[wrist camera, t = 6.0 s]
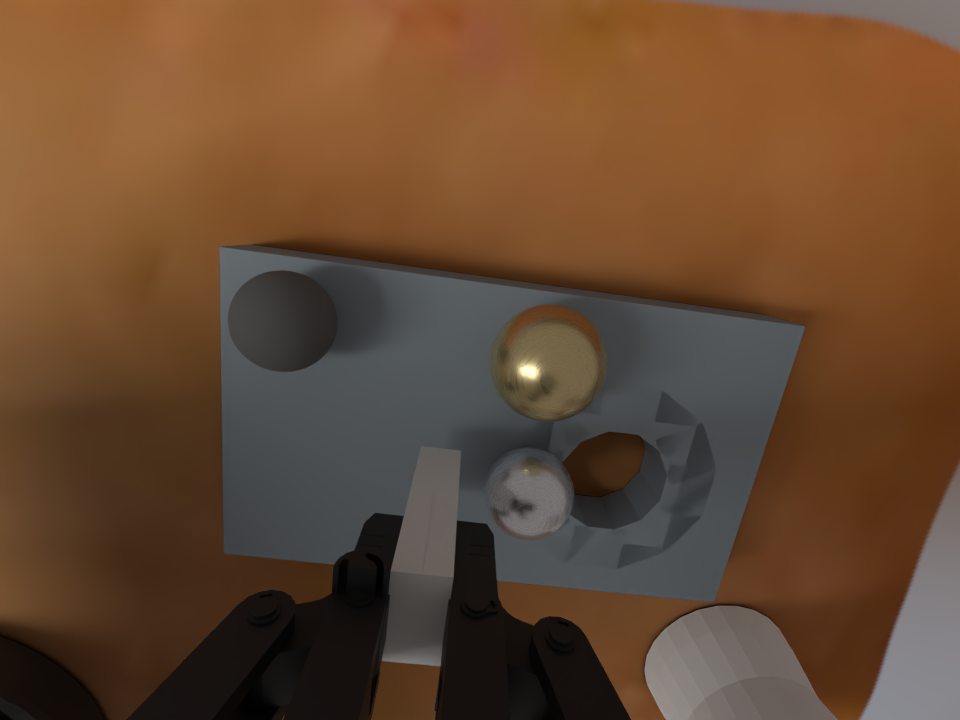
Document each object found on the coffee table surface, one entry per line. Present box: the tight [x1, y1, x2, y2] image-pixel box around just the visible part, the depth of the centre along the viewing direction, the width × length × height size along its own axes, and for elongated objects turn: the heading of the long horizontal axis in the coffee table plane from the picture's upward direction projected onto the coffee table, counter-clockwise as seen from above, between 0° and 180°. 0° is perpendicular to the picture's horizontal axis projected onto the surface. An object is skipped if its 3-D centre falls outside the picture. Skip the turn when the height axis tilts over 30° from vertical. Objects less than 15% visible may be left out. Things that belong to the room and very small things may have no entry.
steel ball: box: [484, 447, 574, 541], centre depth 18 cm, size 3×3×3 cm
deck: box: [219, 245, 806, 603], centre depth 20 cm, size 22×13×2 cm, turn 82°
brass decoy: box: [489, 304, 608, 422], centre depth 16 cm, size 4×4×4 cm
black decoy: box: [228, 270, 338, 372], centre depth 16 cm, size 3×3×3 cm
